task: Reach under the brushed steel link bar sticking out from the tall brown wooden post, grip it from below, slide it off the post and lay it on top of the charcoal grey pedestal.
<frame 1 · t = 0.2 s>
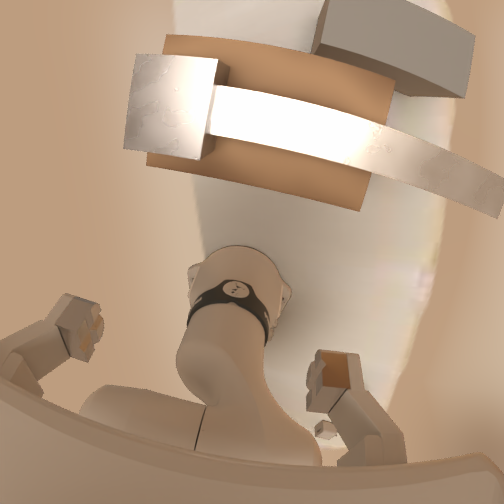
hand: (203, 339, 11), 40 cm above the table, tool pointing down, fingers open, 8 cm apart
brown wooden post: (276, 109, 43), on the table
link bar: (372, 144, 20), point 26 cm above the table, touching brown wooden post
pedestal: (366, 55, 37), on the table
usb wall charger: (328, 424, 76), on the table
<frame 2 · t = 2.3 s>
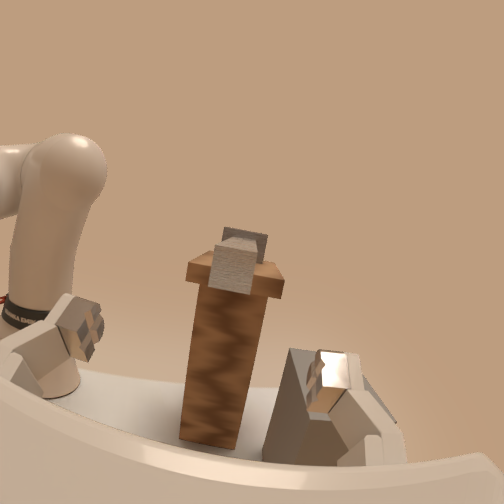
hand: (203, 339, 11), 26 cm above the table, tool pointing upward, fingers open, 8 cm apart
brown wooden post: (209, 429, 42), on the table
link bar: (236, 270, 33), point 26 cm above the table, touching brown wooden post
pedestal: (294, 487, 31), on the table
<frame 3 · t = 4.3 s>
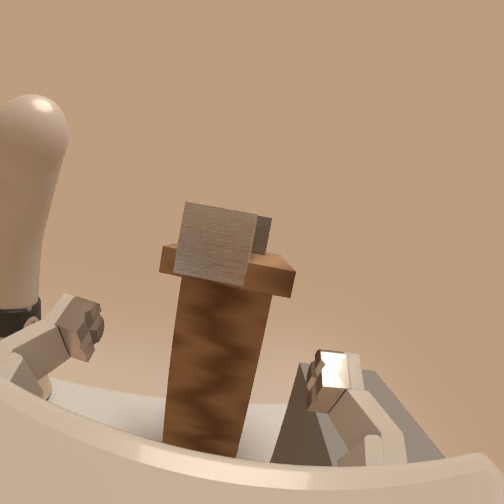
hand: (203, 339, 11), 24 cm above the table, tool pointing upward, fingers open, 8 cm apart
brown wooden post: (199, 457, 33), on the table
link bar: (228, 258, 24), point 26 cm above the table, touching brown wooden post
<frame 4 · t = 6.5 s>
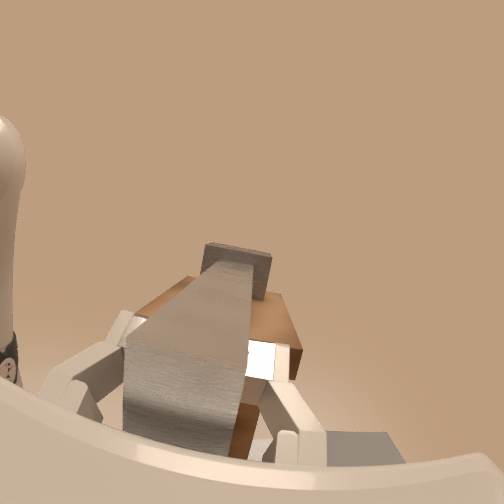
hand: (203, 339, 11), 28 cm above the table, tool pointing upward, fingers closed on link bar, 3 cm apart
link bar: (216, 331, 18), point 26 cm above the table, touching gripper, brown wooden post
when the fingers open (20 cm above the table, at t = 12.9 s): link bar stays where it is, resting on pedestal.
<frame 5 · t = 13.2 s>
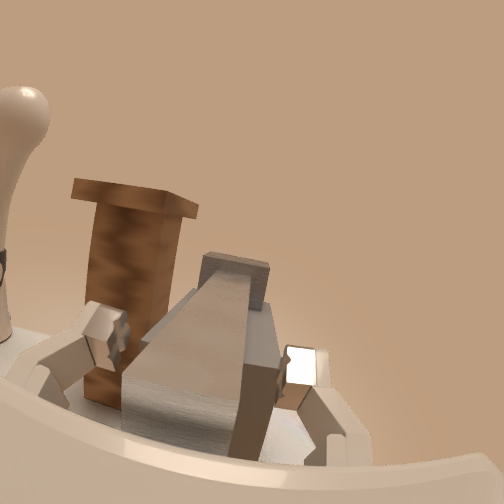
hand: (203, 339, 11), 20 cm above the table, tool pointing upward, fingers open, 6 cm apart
brown wooden post: (123, 393, 36), on the table
link bar: (213, 347, 18), point 17 cm above the table, touching pedestal
pedestal: (198, 470, 25), on the table
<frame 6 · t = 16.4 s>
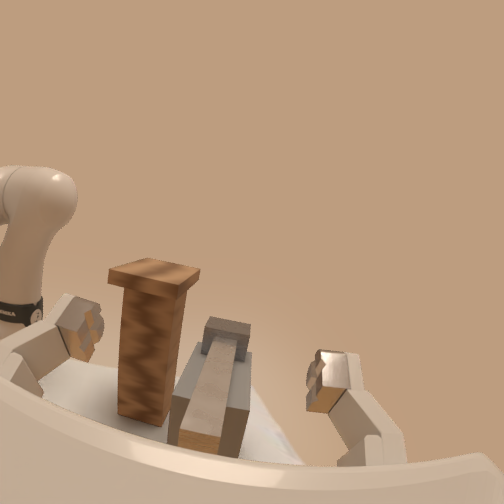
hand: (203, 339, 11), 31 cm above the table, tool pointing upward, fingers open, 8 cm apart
brown wooden post: (145, 409, 49), on the table
link bar: (212, 396, 30), point 17 cm above the table, touching pedestal
pedestal: (202, 464, 38), on the table
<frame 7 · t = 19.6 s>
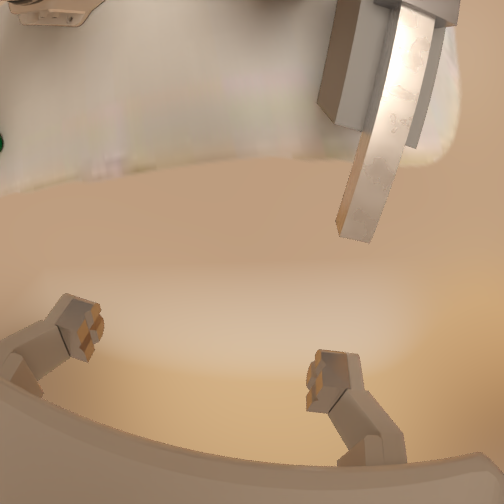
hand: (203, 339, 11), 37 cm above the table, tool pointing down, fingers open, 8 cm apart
link bar: (381, 121, 24), point 17 cm above the table, touching pedestal
pedestal: (356, 57, 34), on the table
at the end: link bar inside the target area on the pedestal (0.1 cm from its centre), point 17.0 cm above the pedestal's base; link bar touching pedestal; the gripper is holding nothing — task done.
